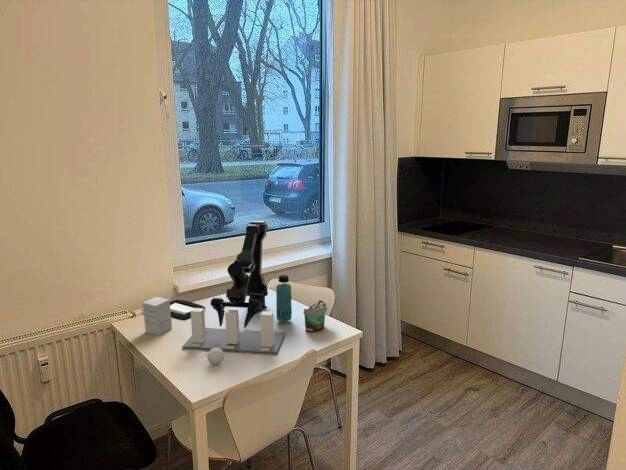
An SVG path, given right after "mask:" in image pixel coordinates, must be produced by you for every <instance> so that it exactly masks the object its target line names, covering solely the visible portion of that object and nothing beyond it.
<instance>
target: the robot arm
mask: <svg viewBox="0 0 626 470" xmlns="http://www.w3.org/2000/svg"><path fill="white" fill-rule="evenodd" d="M245 225H246V228H245V236H244V240H243V244H242V249H241V252H239V253H238V254H237V255H236V258H235V260H234V261H233V262H232V263H231V264H229V265H228V267H227V269H226V270H227V273H228V275H229V276H230V279H231V281H233V284H232V286H231V287H230V288H226V294H225V298H227V300H228V301H224V299H223V298H221V297H213V298H212V299H211V300H210V305H211V307H212V309H214V310H215V311H216V313H217V315H218V316H217V317H218V323H219V327H222V326H223V323H224V318H225V312H226V311H225V310H224V309H225V308H226V307H227V308H241V309H243V308H246V311H247V312H246V315H245V319H244V324H243V328H244V329H245V328H247V327H248V325H249V323H250V322H251V320H252V319H253V318H254V317H255V315H258V314H259V313H262V311H263V309H264V310H265V309H267V308H268V307H267V306H266V297H267V296H268V294H269V292H268V287H267V284H266V283H265V282H266V280H265V277H264V275H263V274H262V265H263V264H262V260H263V259H262V258H263V241H264V240H265V238H266V237H267V232H268V229H269V225H268V223H266V221H265V220H251V221H250V222H248V223H246V224H245ZM248 274H249V275H248ZM247 297H249V298H248V302H246V298H247Z"/></svg>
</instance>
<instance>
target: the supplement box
mask: <svg viewBox="0 0 626 470" xmlns="http://www.w3.org/2000/svg"><path fill="white" fill-rule="evenodd" d="M170 302H171V300H170V299H168V298H164V297H159V296H155V297H153V298H150V299H148V300H146V301H144V302H142V309H143V310H142V311H143V321H144V329H145V330H144V331H145V333H148V334H151V335H154V336H161V335H162V334H164V333H166V332H168V331H170V330H172V329H173V325H172V324H173V323H172V318H171V311H170Z"/></svg>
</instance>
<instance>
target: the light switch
mask: <svg viewBox="0 0 626 470" xmlns="http://www.w3.org/2000/svg"><path fill="white" fill-rule="evenodd" d="M193 308H204V311H205V310H206V307H205V306H204V305H202V304H198V303H195V302H192V301H188V300H183V299H173V300H170V311H171V319H175V318H176V319H177V320H181V321H187V320H191V310H192V309H193Z"/></svg>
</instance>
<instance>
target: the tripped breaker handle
mask: <svg viewBox="0 0 626 470" xmlns="http://www.w3.org/2000/svg"><path fill="white" fill-rule="evenodd" d="M224 318H225V329H226V341H227V344H238V342H239V340H240V338H239V330H240V320H239V319H240V316H239V310H238V309H227V310H226V311H225V313H224Z"/></svg>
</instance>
